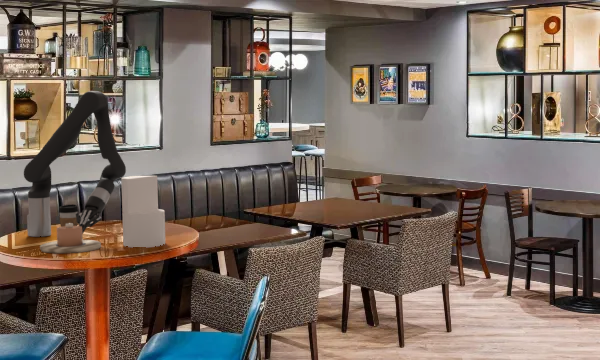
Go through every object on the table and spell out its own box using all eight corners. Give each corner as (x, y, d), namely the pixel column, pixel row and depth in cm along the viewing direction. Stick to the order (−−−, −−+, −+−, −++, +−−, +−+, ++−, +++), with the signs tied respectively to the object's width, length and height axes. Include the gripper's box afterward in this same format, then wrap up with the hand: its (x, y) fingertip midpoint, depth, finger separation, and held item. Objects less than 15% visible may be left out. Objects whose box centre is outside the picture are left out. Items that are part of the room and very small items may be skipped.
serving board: (27, 251, 332) (27, 248, 332) (61, 242, 355) (61, 238, 355) (80, 254, 325) (80, 250, 325) (111, 244, 348) (111, 240, 348)
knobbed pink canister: (52, 246, 336) (51, 225, 335) (66, 242, 345) (65, 221, 345) (73, 247, 333) (72, 225, 332) (87, 243, 342) (86, 222, 341)
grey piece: (114, 245, 346) (112, 178, 343) (144, 239, 360) (142, 175, 357) (144, 249, 336) (142, 180, 333) (174, 242, 350) (172, 176, 348)
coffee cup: (83, 238, 363) (82, 204, 362) (72, 241, 355) (70, 207, 354) (67, 238, 366) (65, 204, 364) (55, 241, 358) (54, 206, 356)
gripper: (81, 194, 354) (62, 227, 344) (105, 195, 348) (86, 228, 338) (90, 205, 359) (71, 237, 349) (114, 206, 353) (96, 239, 343)
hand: (79, 233), depth 344 cm, fingers closed
